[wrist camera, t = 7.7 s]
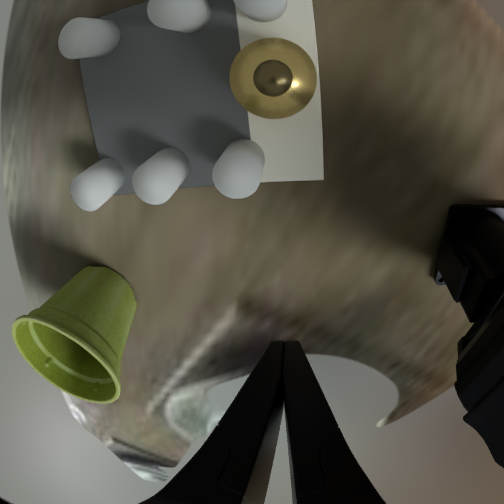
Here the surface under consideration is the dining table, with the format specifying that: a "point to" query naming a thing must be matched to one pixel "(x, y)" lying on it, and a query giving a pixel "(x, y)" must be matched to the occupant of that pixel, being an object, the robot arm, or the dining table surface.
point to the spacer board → (187, 100)
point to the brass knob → (273, 78)
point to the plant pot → (80, 334)
